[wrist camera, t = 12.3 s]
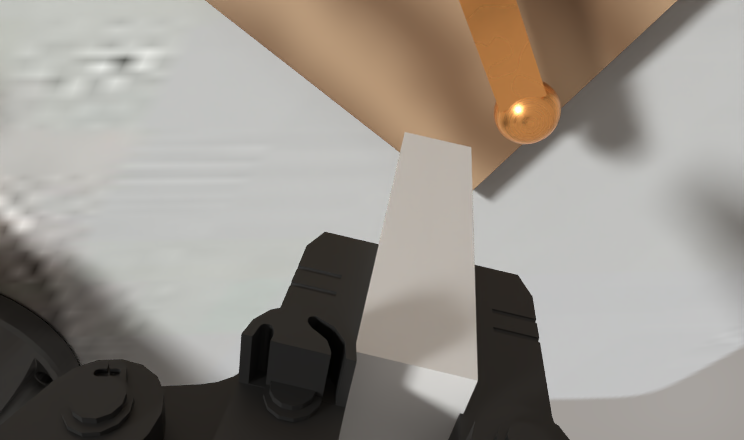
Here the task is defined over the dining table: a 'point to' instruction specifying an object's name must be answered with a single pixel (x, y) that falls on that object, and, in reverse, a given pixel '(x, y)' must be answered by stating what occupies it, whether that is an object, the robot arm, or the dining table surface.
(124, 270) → the dining table surface
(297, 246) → the dining table surface
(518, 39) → the capstan
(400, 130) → the wooden cutting board
